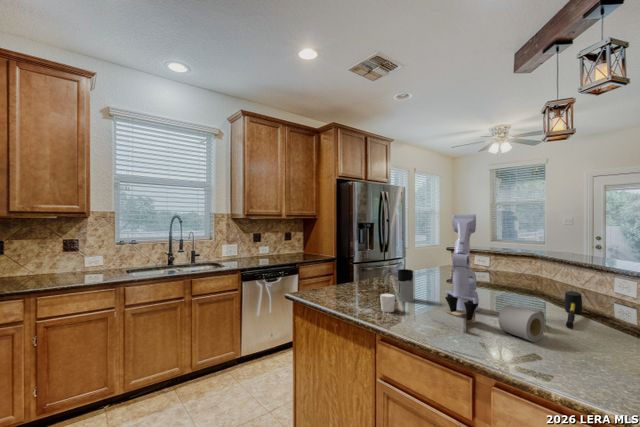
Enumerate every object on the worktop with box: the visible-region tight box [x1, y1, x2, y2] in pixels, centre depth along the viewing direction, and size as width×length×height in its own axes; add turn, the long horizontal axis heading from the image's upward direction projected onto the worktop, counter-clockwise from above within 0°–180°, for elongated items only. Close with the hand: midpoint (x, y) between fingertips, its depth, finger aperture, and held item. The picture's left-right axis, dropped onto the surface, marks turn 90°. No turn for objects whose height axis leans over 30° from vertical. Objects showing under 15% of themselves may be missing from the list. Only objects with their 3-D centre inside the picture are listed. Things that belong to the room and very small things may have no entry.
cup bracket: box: [430, 306, 467, 334], centre depth 123 cm, size 16×5×5 cm, turn 25°
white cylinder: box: [517, 304, 545, 320], centre depth 122 cm, size 11×8×8 cm
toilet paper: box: [498, 304, 546, 343], centre depth 111 cm, size 10×10×10 cm
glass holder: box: [385, 268, 415, 303], centre depth 159 cm, size 9×14×15 cm, turn 89°
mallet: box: [564, 290, 583, 330], centre depth 129 cm, size 29×6×10 cm, turn 138°
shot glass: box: [379, 292, 396, 313], centre depth 141 cm, size 7×7×7 cm
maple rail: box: [449, 310, 476, 325], centre depth 125 cm, size 12×4×4 cm, turn 114°
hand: (461, 316), depth 125 cm, fingers open, 7 cm apart
